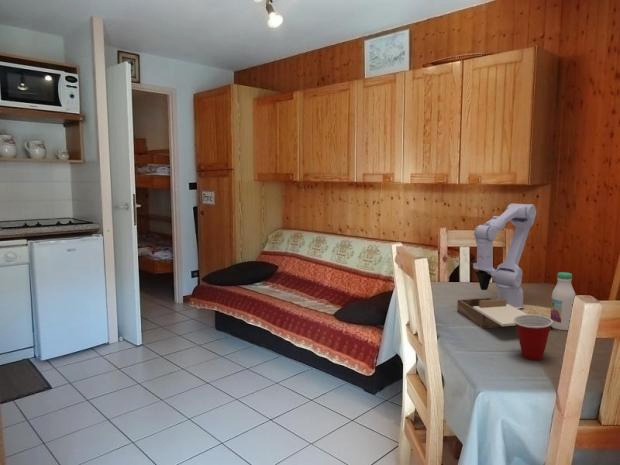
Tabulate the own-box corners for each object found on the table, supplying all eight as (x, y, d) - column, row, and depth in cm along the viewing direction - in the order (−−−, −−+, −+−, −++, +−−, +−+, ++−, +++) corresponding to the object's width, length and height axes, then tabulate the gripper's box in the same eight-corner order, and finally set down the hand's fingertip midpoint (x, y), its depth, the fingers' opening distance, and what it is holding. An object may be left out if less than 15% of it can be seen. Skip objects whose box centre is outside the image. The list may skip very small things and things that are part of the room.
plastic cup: (505, 350, 143) (506, 314, 141) (537, 348, 144) (539, 312, 142) (524, 365, 132) (525, 326, 131) (559, 362, 133) (561, 323, 131)
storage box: (489, 309, 185) (489, 297, 184) (518, 325, 165) (518, 312, 164) (457, 311, 183) (457, 299, 182) (482, 328, 163) (482, 315, 163)
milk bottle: (572, 324, 164) (574, 271, 162) (576, 331, 157) (579, 276, 154) (548, 323, 167) (550, 270, 164) (552, 330, 159) (554, 275, 157)
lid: (507, 306, 171) (507, 297, 171) (541, 323, 152) (541, 314, 151) (473, 308, 169) (473, 300, 169) (502, 326, 150) (502, 317, 149)
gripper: (466, 253, 181) (465, 285, 183) (484, 259, 167) (483, 295, 169) (482, 252, 182) (481, 284, 184) (502, 258, 168) (501, 293, 170)
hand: (484, 289), depth 177 cm, fingers closed
